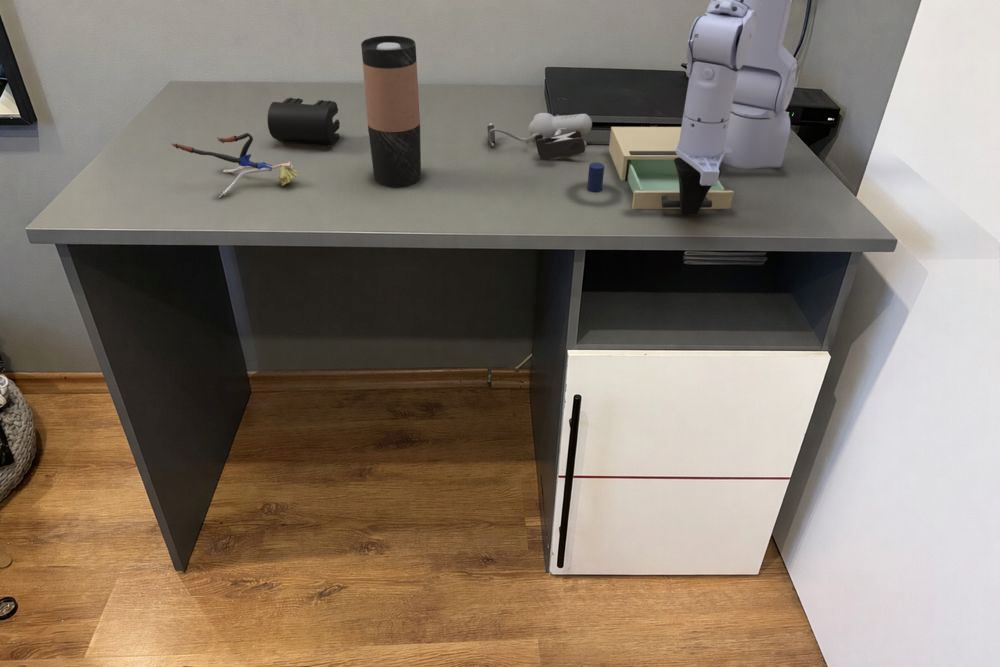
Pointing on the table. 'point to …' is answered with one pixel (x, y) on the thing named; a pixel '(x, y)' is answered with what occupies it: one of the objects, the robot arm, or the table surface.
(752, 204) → the table surface
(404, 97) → the travel mug
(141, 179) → the table surface
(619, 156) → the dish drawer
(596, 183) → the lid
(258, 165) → the spliced wire bundle
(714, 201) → the wooden drawer
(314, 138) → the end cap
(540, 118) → the clip-on lamp
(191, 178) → the table surface
